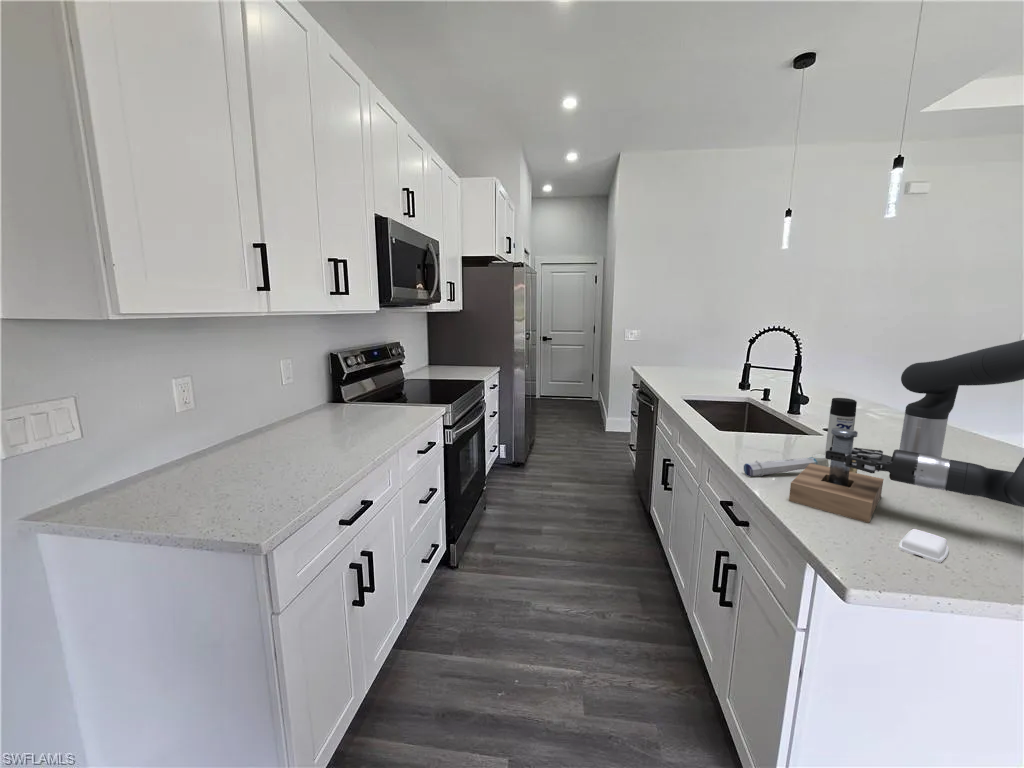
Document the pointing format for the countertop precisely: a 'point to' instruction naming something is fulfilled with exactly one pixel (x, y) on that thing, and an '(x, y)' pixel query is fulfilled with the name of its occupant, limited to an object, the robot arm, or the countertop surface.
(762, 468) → the white electric toothbrush
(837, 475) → the long pin
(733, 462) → the countertop surface
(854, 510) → the hole block
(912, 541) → the soap
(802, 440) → the countertop surface
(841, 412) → the spray can
